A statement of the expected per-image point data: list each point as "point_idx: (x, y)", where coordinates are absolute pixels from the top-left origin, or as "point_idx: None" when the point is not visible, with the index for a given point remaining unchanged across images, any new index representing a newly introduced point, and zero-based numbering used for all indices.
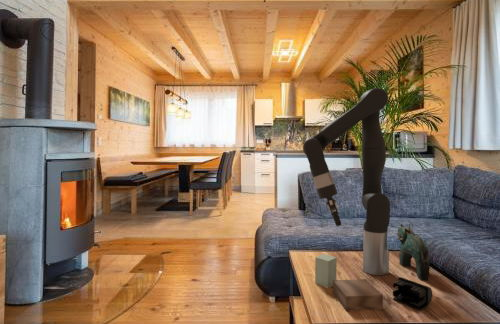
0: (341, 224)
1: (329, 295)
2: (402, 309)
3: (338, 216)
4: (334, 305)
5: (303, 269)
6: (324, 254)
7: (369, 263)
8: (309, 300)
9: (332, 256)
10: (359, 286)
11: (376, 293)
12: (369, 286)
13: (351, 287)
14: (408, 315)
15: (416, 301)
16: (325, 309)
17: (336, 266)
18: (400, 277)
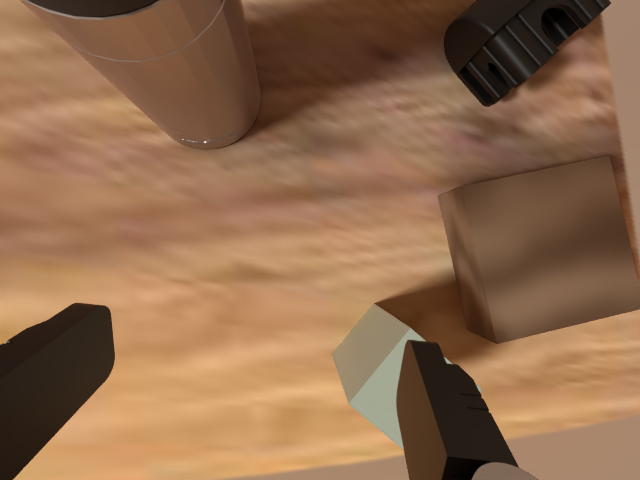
0: (435, 343)
1: (488, 345)
2: (554, 100)
3: (482, 454)
4: (562, 335)
5: (227, 447)
6: (362, 401)
7: (240, 111)
8: (539, 426)
9: (394, 352)
10: (543, 233)
11: (600, 178)
12: (537, 189)
13: (559, 270)
14: (590, 95)
15: (547, 33)
16: (595, 371)
17: (394, 317)
18: (496, 25)
